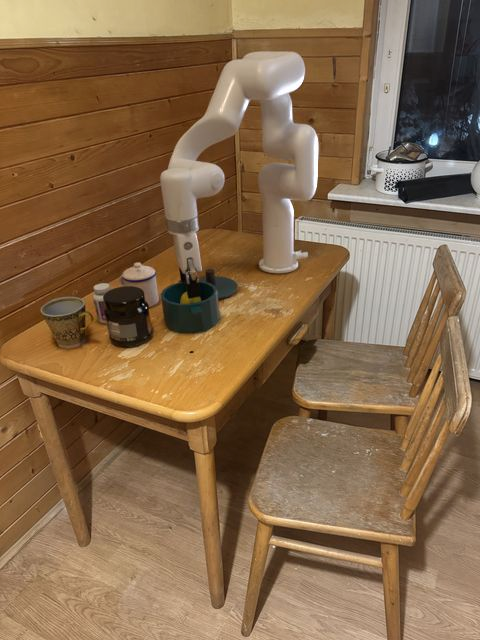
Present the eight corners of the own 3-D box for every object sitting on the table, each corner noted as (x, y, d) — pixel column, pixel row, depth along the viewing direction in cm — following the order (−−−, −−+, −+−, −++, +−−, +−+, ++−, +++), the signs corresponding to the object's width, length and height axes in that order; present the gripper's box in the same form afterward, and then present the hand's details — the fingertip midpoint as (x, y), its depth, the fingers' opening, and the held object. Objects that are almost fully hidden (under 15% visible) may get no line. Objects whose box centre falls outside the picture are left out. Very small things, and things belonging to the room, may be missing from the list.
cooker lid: (230, 276, 156) (228, 257, 153) (243, 297, 144) (242, 277, 141) (181, 284, 152) (179, 264, 149) (190, 305, 140) (188, 285, 137)
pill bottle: (122, 316, 136) (116, 283, 131) (111, 325, 132) (104, 291, 126) (105, 313, 137) (98, 280, 132) (94, 322, 133) (86, 289, 128)
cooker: (210, 300, 143) (208, 273, 139) (227, 332, 127) (225, 304, 123) (160, 308, 139) (156, 281, 135) (171, 342, 123) (166, 313, 119)
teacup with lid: (166, 298, 144) (161, 260, 138) (146, 312, 137) (139, 272, 131) (133, 291, 149) (127, 253, 143) (112, 303, 142) (104, 265, 136)
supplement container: (153, 325, 131) (146, 282, 125) (153, 346, 122) (145, 301, 116) (111, 329, 130) (102, 286, 123) (108, 351, 121) (98, 306, 114)
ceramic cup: (42, 348, 122) (31, 312, 117) (68, 329, 130) (59, 294, 125) (86, 358, 119) (77, 320, 113) (111, 337, 126) (103, 301, 121)
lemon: (182, 313, 135) (179, 286, 131) (203, 312, 135) (200, 285, 131) (181, 323, 130) (177, 295, 126) (202, 322, 131) (200, 294, 126)
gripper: (205, 233, 114) (212, 301, 123) (191, 211, 128) (198, 273, 137) (172, 238, 112) (182, 306, 121) (161, 215, 126) (170, 278, 135)
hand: (190, 289), depth 129 cm, fingers open, 9 cm apart
